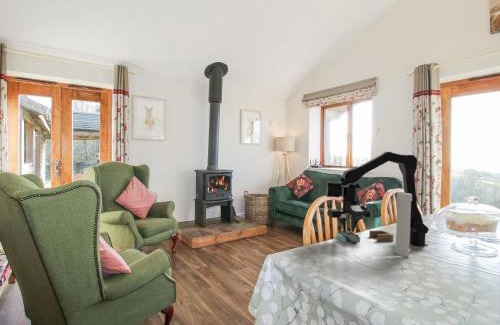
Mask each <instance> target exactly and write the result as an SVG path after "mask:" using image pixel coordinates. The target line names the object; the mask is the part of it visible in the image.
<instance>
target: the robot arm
mask: <svg viewBox="0 0 500 325" xmlns="http://www.w3.org/2000/svg"><path fill="white" fill-rule="evenodd" d="M387 162H390V163H394V164H397V166H398V168H399V170H400V172H401V174H402V180H403V181H402V183H403V184H402V185H403V187H404V189H403V192H404V191H405V193H410V194H412V201H411V215H410V243H409V245H412V246H415V247H427V246H429V244H426V234H428V233H429V230H430V228H428V226H426V224H425V223H424V220H423V218H422V215H421V212H420V209H419V207H418V200H417V198H418V197H417V189H416V177H415V175H416V171H417V168H418V158H417V157H416V156H415V155H413V154H399V153H396V152H392V151H384V152H383V153H381V154H380V155H378V156H376V157H374V158H372V159H371V160H368V161H367V162H365V163H364V164H361V165H359V166H356V167H352V168H350V169H346V170H344V171H343V172H342V177H341V178H340V180H338V182H330V181H327V182H326V188H325V197H326V198H340V197H341V196H342V198H341V199H340V200H341V202H342V207H341V208H340V210H338V209H335V208H331V209H330V208H329V209H328V210H327V212H326V213H327V214H326V215H327V217H330V218H333V219H336V218H337V220H338V221H339V223H340V226H341V228H342V230H343V231H344V232H346V230H347V219H348V218H347V217H346V216H350V230H351V231H350V232H352V233H355V232H354V231H355V229H356V227H357V225H358V222H359V221H360V220H363V217H364V218H372V212H371V210H369V209H368V207H367V205H359V200H357V190H358V189H362V186H361V185H360V184H359V183H358V182H357V181H359V180H361V179H362V178H363V176H364V175H366V174H367V173H370V172H371V171H373V170H374V169H377V168H379V167H380V166H382V165H384V164H386V163H387Z"/></svg>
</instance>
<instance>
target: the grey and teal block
mask: <svg viewBox="0 0 500 325" xmlns="http://www.w3.org/2000/svg"><path fill="white" fill-rule="evenodd" d="M340 234H341V235H342V236H344V237H346V240H348V241H350V242H349V243H352V244H353V245H355V244H357V243H359V242H358V241H359V237H360V236H359V235H358V234H357V233H355V232H352V231H349V230H347V229H346V232H344V231H343V229H342V230H341V232H340Z"/></svg>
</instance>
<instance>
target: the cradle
mask: <svg viewBox="0 0 500 325" xmlns="http://www.w3.org/2000/svg"><path fill="white" fill-rule="evenodd" d="M336 239H338V240H339V241H341V242H342V243H351V242H350V241H348V240H346V237H344V236H342V235H341V233H336ZM357 243H361V237H360V236H359V241H358V242H357Z"/></svg>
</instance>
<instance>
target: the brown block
mask: <svg viewBox="0 0 500 325" xmlns="http://www.w3.org/2000/svg"><path fill="white" fill-rule="evenodd" d="M368 232H369V235H368V236H369V238H370V239H372V240H375V241H377V242H380V243H381V242H394V234H393V233H390V232H389V231H386V230H383V229H382V230H379V229H378V230H369V231H368Z"/></svg>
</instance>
